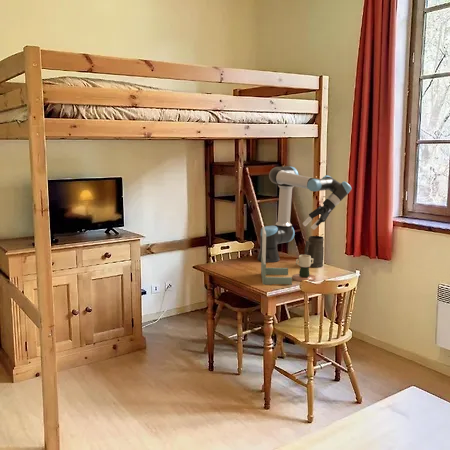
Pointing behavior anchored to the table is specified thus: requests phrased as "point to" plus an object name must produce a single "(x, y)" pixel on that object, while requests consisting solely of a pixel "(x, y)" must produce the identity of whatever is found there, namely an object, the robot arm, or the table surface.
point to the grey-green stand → (272, 271)
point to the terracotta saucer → (300, 278)
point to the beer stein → (315, 250)
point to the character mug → (304, 264)
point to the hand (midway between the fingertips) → (307, 226)
